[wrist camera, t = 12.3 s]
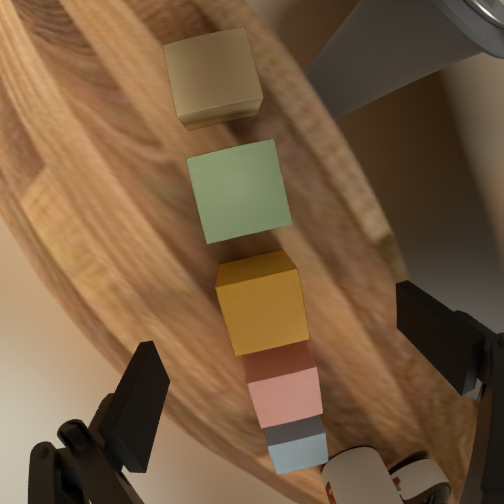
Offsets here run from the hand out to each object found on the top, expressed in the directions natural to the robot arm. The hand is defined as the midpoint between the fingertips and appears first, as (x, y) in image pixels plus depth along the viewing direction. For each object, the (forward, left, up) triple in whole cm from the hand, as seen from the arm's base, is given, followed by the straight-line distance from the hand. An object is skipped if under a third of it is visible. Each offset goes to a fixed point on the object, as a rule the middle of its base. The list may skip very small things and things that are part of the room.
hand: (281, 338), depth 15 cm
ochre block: (+1, 0, -9) cm, 9 cm away
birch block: (0, -15, -9) cm, 17 cm away
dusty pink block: (0, +8, -9) cm, 11 cm away
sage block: (0, -7, -9) cm, 11 cm away
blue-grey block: (0, +15, -9) cm, 17 cm away
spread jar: (-15, +38, -9) cm, 42 cm away
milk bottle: (-6, +27, -9) cm, 29 cm away
